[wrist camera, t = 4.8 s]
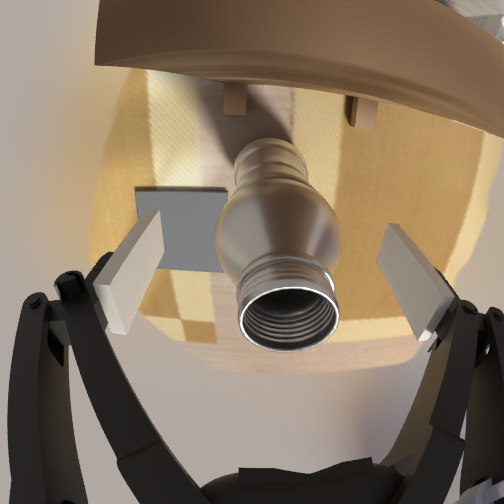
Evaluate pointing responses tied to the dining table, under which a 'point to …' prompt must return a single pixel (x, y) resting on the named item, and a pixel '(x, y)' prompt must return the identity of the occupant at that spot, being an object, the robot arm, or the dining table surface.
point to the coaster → (186, 226)
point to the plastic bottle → (280, 249)
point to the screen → (317, 52)
